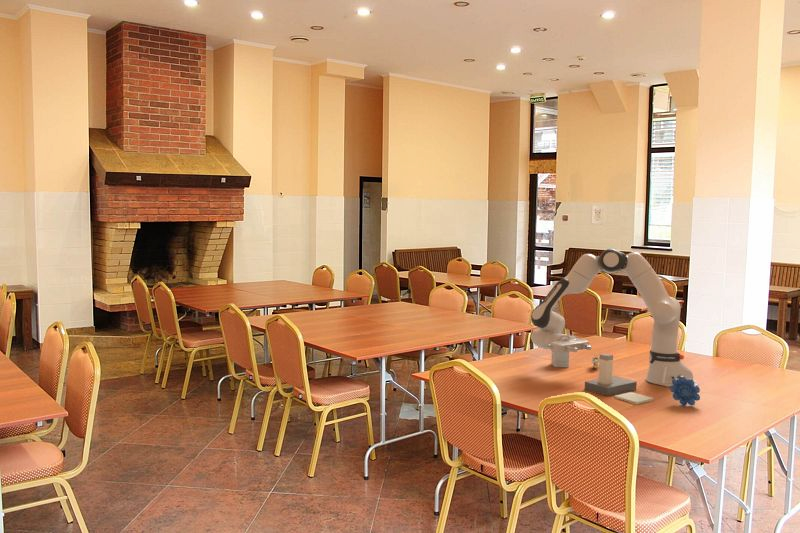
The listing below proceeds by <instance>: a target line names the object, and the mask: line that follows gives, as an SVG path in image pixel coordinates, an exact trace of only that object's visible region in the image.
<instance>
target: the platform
mask: <svg viewBox="0 0 800 533" xmlns="http://www.w3.org/2000/svg"><path fill="white" fill-rule="evenodd" d="M591 363H592V364H593V368H592V369H593V371H594V370H595V369H596V368H598V369H599V354H597V355H596V354H594V357H593V356H592V357H591Z"/></svg>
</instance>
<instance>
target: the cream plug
mask: <svg viewBox="0 0 800 533" xmlns="http://www.w3.org/2000/svg"><path fill="white" fill-rule="evenodd" d="M598 358H599V362H598V378H597V379H598V383H601V384H604V385H608V384H612V376H613V368H614V367H613V366H614V365H613V364H614V363H613V361H614V355H613V354H610V353H605V352H604V353H600V354H599V356H598Z"/></svg>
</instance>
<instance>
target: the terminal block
mask: <svg viewBox="0 0 800 533" xmlns="http://www.w3.org/2000/svg"><path fill="white" fill-rule="evenodd" d="M637 384H638V383H637V381H636V380H632V379H627V378H624V377H620V376H617V375H612V384H608V385H604V384H601V383H598V378H595V379H592V380H587V381H584V390H585V391H588V392H592V393H595V394H598V395H603V396H605V397H610V396H615V395H619V394H624V393H628V392H633V391H636V390H637ZM618 393H619V394H618Z"/></svg>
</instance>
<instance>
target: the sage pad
mask: <svg viewBox="0 0 800 533" xmlns="http://www.w3.org/2000/svg"><path fill="white" fill-rule="evenodd" d="M616 398H617V400H619V399H621V400H620V401H623V400H624V401H623V402H626V401H627V402H626V403H629V402H630V404H634V405H642V404H645V403H650V402H653V401H654V397H650V396H647V395H643V394H640V393H636V392H633V391H627V392H623V393H619V394H614V399H616Z"/></svg>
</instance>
